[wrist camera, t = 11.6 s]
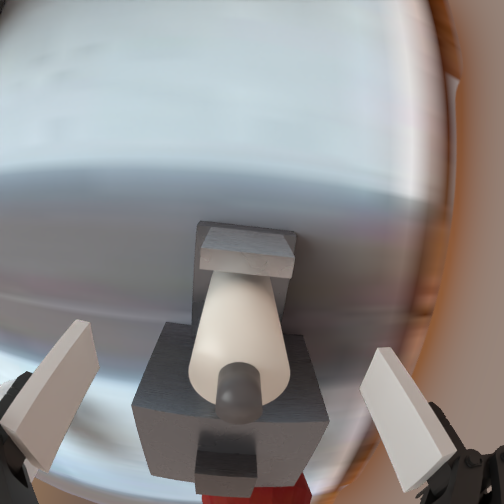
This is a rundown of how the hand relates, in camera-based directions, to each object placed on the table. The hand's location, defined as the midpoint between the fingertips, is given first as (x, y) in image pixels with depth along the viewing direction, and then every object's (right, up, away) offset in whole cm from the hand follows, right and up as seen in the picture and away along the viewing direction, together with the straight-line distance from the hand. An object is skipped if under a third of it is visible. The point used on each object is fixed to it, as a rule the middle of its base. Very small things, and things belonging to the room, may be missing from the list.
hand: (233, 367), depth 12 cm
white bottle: (0, +3, +9) cm, 10 cm away
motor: (-1, -4, +13) cm, 13 cm away
